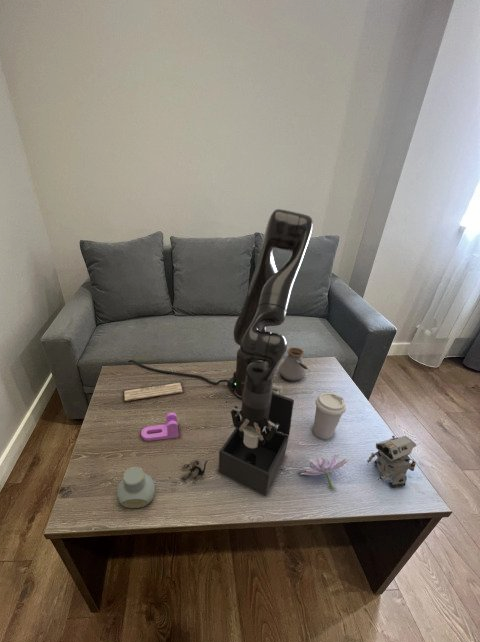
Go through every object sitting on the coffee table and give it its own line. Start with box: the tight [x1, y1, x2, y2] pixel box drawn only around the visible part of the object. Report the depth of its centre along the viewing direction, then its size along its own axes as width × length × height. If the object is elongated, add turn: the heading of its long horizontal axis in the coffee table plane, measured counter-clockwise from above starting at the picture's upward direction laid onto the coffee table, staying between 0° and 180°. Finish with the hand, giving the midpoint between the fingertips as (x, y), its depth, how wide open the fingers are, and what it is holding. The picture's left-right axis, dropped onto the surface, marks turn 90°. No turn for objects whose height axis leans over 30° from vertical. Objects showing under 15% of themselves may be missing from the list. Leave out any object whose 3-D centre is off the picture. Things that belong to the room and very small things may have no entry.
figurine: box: [366, 435, 417, 489], centre depth 93 cm, size 9×12×15 cm
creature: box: [182, 460, 208, 481], centre depth 98 cm, size 8×5×8 cm
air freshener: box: [116, 466, 156, 509], centre depth 91 cm, size 11×8×10 cm
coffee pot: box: [278, 347, 310, 382], centre depth 132 cm, size 21×12×15 cm, turn 179°
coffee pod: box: [243, 426, 260, 448], centre depth 92 cm, size 6×6×5 cm
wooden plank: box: [123, 382, 184, 402], centre depth 133 cm, size 24×7×2 cm, turn 102°
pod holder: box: [244, 453, 257, 466], centre depth 98 cm, size 4×4×5 cm
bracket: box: [140, 411, 180, 442], centre depth 112 cm, size 13×6×7 cm, turn 98°
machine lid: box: [241, 382, 295, 437], centre depth 98 cm, size 17×16×5 cm
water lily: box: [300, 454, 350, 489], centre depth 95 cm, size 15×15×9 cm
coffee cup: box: [312, 391, 347, 440], centre depth 109 cm, size 10×10×15 cm
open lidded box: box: [218, 417, 290, 497], centre depth 99 cm, size 17×16×10 cm
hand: (251, 441), depth 93 cm, fingers closed on coffee pod, 4 cm apart
